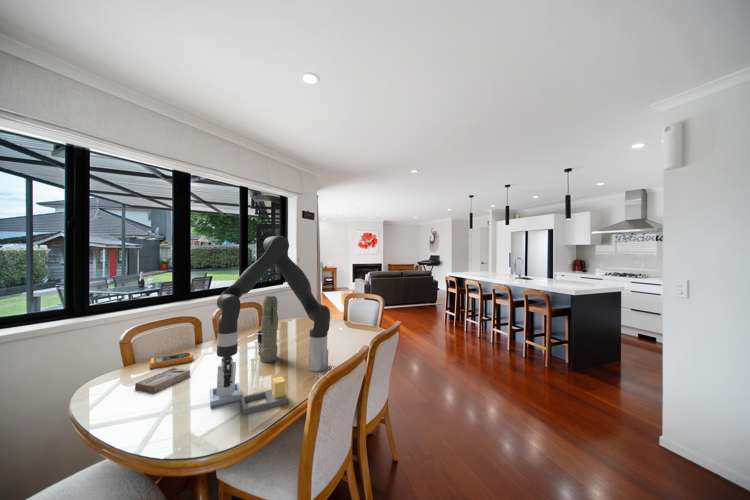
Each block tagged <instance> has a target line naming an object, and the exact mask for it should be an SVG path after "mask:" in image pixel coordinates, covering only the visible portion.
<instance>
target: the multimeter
mask: <svg viewBox="0 0 750 500" xmlns="http://www.w3.org/2000/svg"><path fill="white" fill-rule="evenodd" d="M193 359H194V354H193V352H191V351H187V352H182V353H181V352H180V353H175V354H169V355H164V356H157V357H151V359H150V362H149V368H150V369H158V368H163V367H168V366H173V365H179V364H185V363H189V362H190V363H191V362H192V361H193Z"/></svg>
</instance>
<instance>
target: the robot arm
mask: <svg viewBox="0 0 750 500" xmlns="http://www.w3.org/2000/svg"><path fill="white" fill-rule="evenodd" d="M262 245H263V249H264V251H265V252H264V253H263V254H262V255H261V257H259V258H258V259H257V260H256V261H255V262H254V263H252V264H251V265H250V266H248V267H247V268H246V269H245V270H244V271H243V272H242V273H241V275H239V277H238V278H237V279H236V280H235V282H233V283H232V284H231V285H230V286H229V287H228V288H227V289H225V290H223V292H222V293H221V294H220V295H219V296H218V297H217V300H216V305H217V308H218V309H220V310H221V318H220V319H219V320H218V325H217V327H218V328H217V338H216V340H217V341H216V356H217V357H219V358H221V359H220V360H221V362H220V363H222V372H223V373H224V376H223V378H224V388H226V387H229V386H230V378H231V371H232V363H233V362H234V359H233V356H235V355H236V354H238V346H239V345H238V344H239V343H238V340H239V337H238V336H239V335H238V334H239V333H238V321H239V316H240V313H241V300H240V298H241V297H242V296H243V295H246V294H248V293H249V292H250V291H251V290H252V289H253V287H255V285H256V284H257V283H258V282H259V280H261V278H262V277H263V276H264V274H265V273H266V272H267V271H269V269H270V268H271V267H272V266H273V265H274V264H275V266H276V267H277V268H278V270H279V271H280V274H281V275H282V277H283V278H284V281H286V283H287V284H288V286H289V288H290V289H291V291H292V292H293V293H294V295H295V296H296V297H297V299H298V300H299V301H300V303H301V305H302V307H303V309H304V311H305V313H306V315H307V317H308V318H309V319H310V320H311V321H313V327H312V328H310V330H309V340H308V343H309V345H308V370H309V371H311V372H322V371H324V370H327V369H328V368H329V349H328V333H329V330H330V324H331V323H330V322H331V310H330V308H329V307H328V306H327V305H324V304H321V303H319V302H318V300H317V299H316V297H315V296H314V295H313V292H312V287H311V283H310V280H309V279H308V277H307V275H306V274H305V272H304V271H303V270H302V269H301V267H300V266H298V265H297V264H296V263H295V262H294V261H293V260H292V259H291V257H289V256H288V254H287V252H288V250H289V248H290V243H289V240H288V238H286V237H285V236H284V235H273V236H268V237H266V238H265V239H264V241H263V244H262ZM227 373H229V375H226V374H227Z"/></svg>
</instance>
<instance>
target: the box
mask: <svg viewBox="0 0 750 500" xmlns="http://www.w3.org/2000/svg"><path fill="white" fill-rule="evenodd" d="M190 376H191V370H188V369H183V368H176V367H172V368H169V369H167V370H164V371H162V372H160V373H157V374H155V375H152V376H150V377H148V378H146V379H145V378H144V379H143V380H141V381H138V382H136V383H135V387H134V390H135V391H142V392H144V393H145V392H147V393H150V394H155V393H156V392H159V391H161V390H162V389H165V388H167V387H170V386H172V385H174V384H177V383H179V382H181V381H183V380H185V379H187V378H189V377H190Z"/></svg>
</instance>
